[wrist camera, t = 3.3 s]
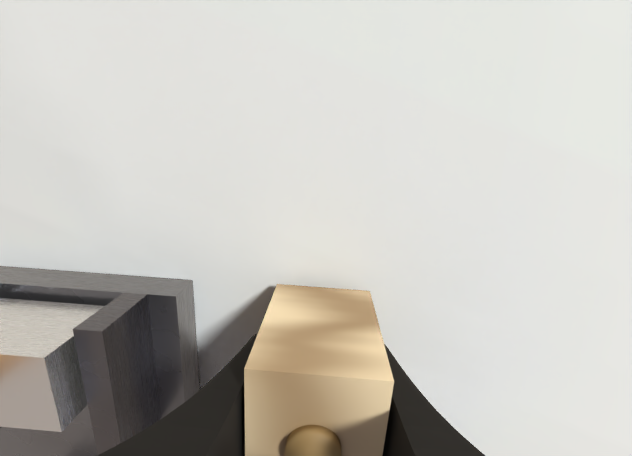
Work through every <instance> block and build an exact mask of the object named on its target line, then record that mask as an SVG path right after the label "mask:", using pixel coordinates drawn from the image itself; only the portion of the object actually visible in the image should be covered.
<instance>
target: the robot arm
mask: <svg viewBox="0 0 632 456" xmlns="http://www.w3.org/2000/svg"><path fill="white" fill-rule="evenodd" d="M256 337H257V334H255V335H254V336H253V337H252V338H251V339H250V340H249V342H248V343H247V344H246V345H245V346H244V347H243V348H242V349H241V351H240V352H239V353H238V354H237V355H236V356H235V357H234V358H233V359H232V360H231V361H230V362H229V363H228V364H227V365H226V366H225V367H224V368H223V369H222V370H221V371H220V372H219V373H218V374H217V375H216V376H215V377H214V378H213V379H212V380H211V381H210V382H208V383H207V384H206V385H205V386H204V387H203V388H202V389H200V390H199V391H198V392H197V393H196V394H194V395H193V396H192V397H191V398H189V399H188V400H187V401H186V402H184V403H183V404H182V405H180V406H179V407H178V408H176V409H175V410H173V411H172V412H170V413H169V414H168V415H166V416H165V417H163V418H162V419H160V420H159V421H157V422H156V423H154V424H153V425H151V426H149V427H148V428H146V429H145V430H143V431H141V432H140V433H138V434H136V435H134V436H133V437H131V438H129V439H127V440H126V441H124V442H122V443H120V444H118V445H117V446H115V447H113V448H111V449H109V450H107V451H105V452H103V453H101V454H99V455H97V456H245V400H244V368H245V365H246V363H247V360H248V358H249V355H250V353H251V350H252V347H253V345H254V342H255V340H256ZM384 346H385V349H386V353H387V357H388V360H389V364H390V368H391V371H392V375H393V379H394V386H393V392H392V398H391V405H390V411H389V417H388V423H387V430H386V436H385V442H384V449H383V455H382V456H485V455H484V454H482V453H481V452H480V451H479V450H478V449H477V448H476V447H474V446H473V445H472V444H471V443H470V442H469V441H468V440H466V439H465V438H464V437H463V436H462V435H461V434H460V433H459V432H458V431H457V430H455V429H454V428H453V427H452V426H451V425H450V424H449V423H448V422H447V421H446V420H445V419H444V418H443V417H442V416H441V415H440V414H439V413H438V412H437V411H436V409H435V408H434V407H433V406H432V405H431V404H430V403H429V402H428V400H427V399H426V398H425V397H424V396H423V395H422V393H421V392H420V391H419V390H418V389H417V387H416V386H415V385H414V384H413V382H412V381H411V380H410V378H409V377H408V376H407V375H406V373H405V372H404V371H403V369H402V368H401V366H400V365H399V364H398V362H397V361H396V359H395V358H394V356H393V355H392V354H391V352H390V351H389V349H388V348H387V346H386V345H385V344H384Z"/></svg>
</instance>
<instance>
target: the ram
mask: <svg viewBox="0 0 632 456" xmlns="http://www.w3.org/2000/svg"><path fill="white" fill-rule="evenodd" d="M103 307H104V306H99V305H86V304H73V303H60V302H47V301H34V300H21V299H8V298H0V427H10V428H21V429H33V430H44V431H55V432H62V431H63V430H64V429H65V428H66V427H67V426H68V425H69V424H70V423H71V422H72V421H73V420H74V418H75V417H76V416H77V415H78V414H79V413H80V412H81V411H82V410H83V409H84V408H85V407H86V406H87V405H88V404H87V399H86V394H85V389H84V384H83V379H82V374H81V369H80V364H79V359H78V354H77V349H76V344H75V339H74V334H73V328H75V327H76V326H78V325H79V324H80V323H82V322H83V321H85V320H86V319H87V318H89V317H90V316H92V315H93V314H94V313H96V312H97V311H99V310H100V309H101V308H103Z"/></svg>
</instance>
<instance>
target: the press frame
mask: <svg viewBox="0 0 632 456" xmlns="http://www.w3.org/2000/svg"><path fill="white" fill-rule="evenodd" d="M0 298H8V299H21V300H34V301H47V302H60V303H73V304H86V305H99V306H104V307H103V308H101V309H100V310H99V311H97V312H96V313H94V314H93V315H92V316H90V317H89V318H87V319H86V320H85V321H83V322H82V323H80V324H79V325H78V326H76V327H75V328H73V334H74V339H75V344H76V349H77V354H78V359H79V364H80V369H81V374H82V379H83V384H84V389H85V394H86V399H87V404H88V405H87V406H86V407H85V408H84V409H83V410H82V411H81V412H80V413H79V414H78V415H77V416H76V417H75V418H74V420H73V421H72V422H71V423H70V424H69V425H68V426H67V427H66V428H65V429H64V430H63V431H62V432H55V431H44V430H33V429H21V428H10V427H0V456H97V455H99V454H101V453H103V452H105V451H107V450H109V449H111V448H113V447H115V446H117V445H118V444H120V443H122V442H124V441H126V440H127V439H129V438H131V437H133V436H134V435H136V434H138V433H140V432H141V431H143V430H145V429H146V428H148V427H149V426H151V425H153V424H154V423H156V422H157V421H159V420H160V419H162V418H163V417H165V416H166V415H168V414H169V413H170V412H172V411H173V410H175V409H176V408H178V407H179V406H180V405H182V404H183V403H184V402H186V401H187V400H188V399H189V398H191V397H192V396H193V395H194V394H196V393H197V392H198V391H199V390H200V388H199V372H198V357H197V342H196V326H195V311H194V296H193V281H192V280H182V279H168V278H155V277H141V276H127V275H114V274H100V273H86V272H73V271H59V270H45V269H32V268H18V267H4V266H0Z"/></svg>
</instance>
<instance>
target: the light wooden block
mask: <svg viewBox="0 0 632 456" xmlns="http://www.w3.org/2000/svg"><path fill="white" fill-rule="evenodd" d="M393 386H394V379H393V375H392V371H391V368H390V364H389V360H388V357H387V353H386V349H385V346H384V342H383V338H382V335H381V331H380V327H379V324H378V320H377V316H376V313H375V309H374V305H373V302H372V298H371V294H370V291H362V290H349V289H335V288H322V287H308V286H295V285H282V284H277V286H276V288H275V291H274V293H273V296H272V298H271V301H270V304H269V306H268V309H267V311H266V314H265V316H264V319H263V322H262V324H261V327H260V329H259V332H258V334H257V337H256V340H255V342H254V345H253V347H252V350H251V353H250V355H249V358H248V360H247V363H246V365H245V368H244V400H245V456H382V455H383V449H384V442H385V436H386V430H387V423H388V417H389V411H390V405H391V398H392V392H393Z"/></svg>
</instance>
